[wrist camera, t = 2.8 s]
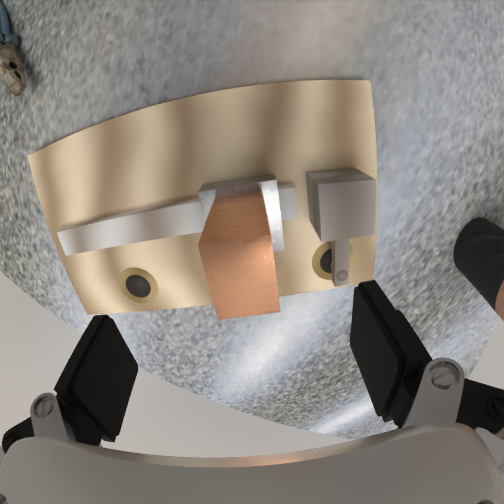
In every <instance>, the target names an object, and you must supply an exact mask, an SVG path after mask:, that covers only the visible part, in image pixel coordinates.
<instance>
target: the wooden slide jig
mask: <svg viewBox="0 0 504 504" xmlns="http://www.w3.org/2000/svg"><path fill="white" fill-rule="evenodd" d="M28 159H29V163H30V167H31V172H32V175H33V179H34V183H35V187H36V190H37V194H38V197H39V200H40V203H41V207H42V210H43V213H44V216H45V219H46V222H47V224H48V227H49V230H50V233H51V235H52V238H53V241H54V243H55V246H56V248H57V251H58V253H59V256H60V258H61V260H62V263H63V265H64V267H65V269H66V272H67V274H68V276H69V278H70V280H71V283H72V285H73V287H74V289H75V291H76V293H77V295H78V297H79V299H80V301H81V303H82V305H83V307H84V309H85V310H86V312H87V314H106V313H122V312H137V311H150V310H162V309H173V308H184V307H194V306H204V305H213V301H212V297H211V293H210V290H209V286H208V283H207V279H206V275H205V271H204V268H203V264H202V260H201V256H200V252H199V248H198V243H199V240H200V237H201V234H202V231H203V229H204V226H205V221H204V216H203V212H202V207H201V203H200V198H199V193H198V191H199V190H200V188H201V186H202V185H203V184H207V183H213V182H219V181H225V180H231V179H237V178H244V177H251V176H258V175H265V174H273V173H274V175H275V177H276V179H277V186H278V194H279V203H280V211H281V220H282V229H283V239H284V248H285V250H284V251H276V252H273V254H274V262H275V271H276V279H277V287H278V296H285V295H292V294H299V293H306V292H312V291H319V290H325V289H331V288H337V287H343V286H349V285H355V284H359V283H360V282H364V281H370V280H373V272H374V261H375V247H376V229H377V151H376V133H375V120H374V109H373V99H372V90H371V83H370V81H369V80H308V81H291V82H279V83H269V84H260V85H252V86H244V87H237V88H231V89H225V90H219V91H214V92H209V93H204V94H199V95H194V96H190V97H185V98H181V99H177V100H173V101H169V102H165V103H161V104H158V105H154V106H151V107H147V108H144V109H140V110H137V111H134V112H131V113H128V114H125V115H122V116H119V117H116V118H113V119H110V120H108V121H105V122H102V123H99V124H97V125H94V126H92V127H89V128H87V129H84V130H82V131H79V132H77V133H75V134H72V135H70V136H68V137H66V138H63V139H61V140H59V141H57V142H55V143H53V144H51V145H49V146H47V147H44V148H42V149H41V150H39V151H37V152H35V153H33V154H31V155H29V156H28Z"/></svg>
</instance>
